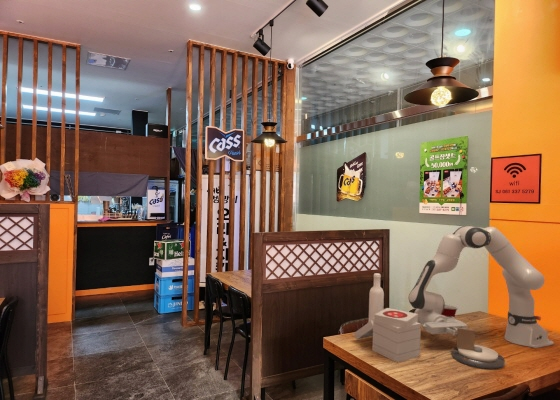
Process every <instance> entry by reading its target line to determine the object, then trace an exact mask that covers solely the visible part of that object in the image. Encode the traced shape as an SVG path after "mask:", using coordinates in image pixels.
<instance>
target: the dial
mask: <svg viewBox="0 0 560 400" xmlns="http://www.w3.org/2000/svg"><path fill="white" fill-rule="evenodd" d="M475 333H476V332H475V329H471V328H470V329H469V328H467V329H464V328H457V335H456V347H457V348H458V352H459V353H460V354H461V355H462V356H464V357H467V358H469V359H473V360H477V361H484V362H493V361H496V360H498V354H499V353H498V352H497V351H495V350H494V349H492V348H489V347H487V346H483V345H479V344H475V336H476V335H475Z"/></svg>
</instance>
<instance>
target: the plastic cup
mask: <svg viewBox="0 0 560 400" xmlns="http://www.w3.org/2000/svg"><path fill="white" fill-rule="evenodd" d="M458 309H459V308H458V307H457V306H453V305H450V304H449V305H448V304H445V307H444V310H443V312H442V314H441V315H444V316H451V317H454V318H455V319H456V313H457V310H458Z"/></svg>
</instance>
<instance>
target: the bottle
mask: <svg viewBox="0 0 560 400" xmlns="http://www.w3.org/2000/svg"><path fill="white" fill-rule="evenodd" d="M381 277H382V276H381V273H377V272H376V273H373V286H372V287H371V288H370V290H369V294H368V295H369V298H368V322H367V323H369V322H370V321H373V319H375V314H376V313H378V312H380V311H382V310H384V305H385V303H384V302H385V301H384V298H385V293H384V290H383V289H384V288H382V287H381Z"/></svg>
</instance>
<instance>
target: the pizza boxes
mask: <svg viewBox="0 0 560 400" xmlns="http://www.w3.org/2000/svg"><path fill="white" fill-rule="evenodd" d="M417 321H418V314H415V312H411V311H410V312H409V311H405V310H400V309H395V308H389V307H386V308H383V310H382V311H380V312H378V313H376V314H375V319H373V321H370V322H369V321H368V322H369V323H368V322H367V323H366V324H365V325H363V326H362V327H360V328H359V329H357V330H356V331H354V333H353V336H354V338H355V340H356V341H357V340H362V339H365V338H370V337H372V349H371V350H372V351H373V352H375V353H376V354H378V355H381V356H383V357H385V358H387V359H389V360H391V361H393V362H396V363H400V362H404V361H408V360H411V359H414V358H418V356H419V357H420V356H421V333H422V330H421V327H422V324H421V323H418V322H417Z"/></svg>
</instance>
